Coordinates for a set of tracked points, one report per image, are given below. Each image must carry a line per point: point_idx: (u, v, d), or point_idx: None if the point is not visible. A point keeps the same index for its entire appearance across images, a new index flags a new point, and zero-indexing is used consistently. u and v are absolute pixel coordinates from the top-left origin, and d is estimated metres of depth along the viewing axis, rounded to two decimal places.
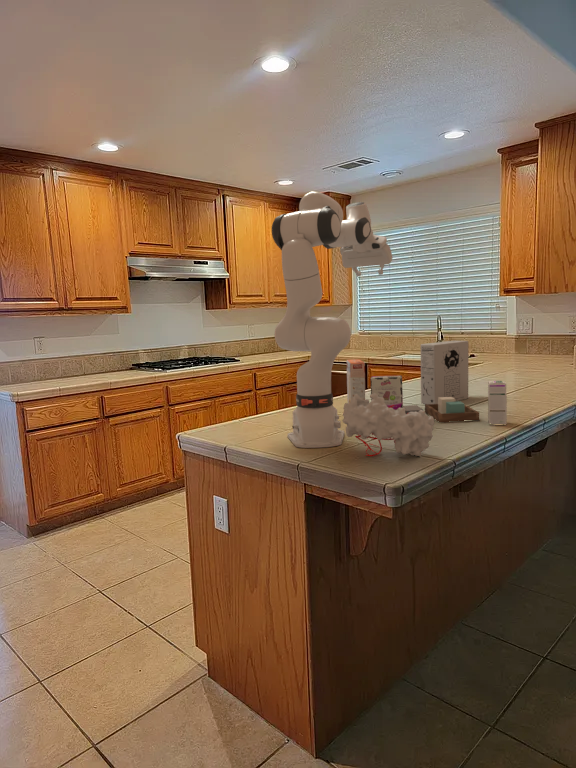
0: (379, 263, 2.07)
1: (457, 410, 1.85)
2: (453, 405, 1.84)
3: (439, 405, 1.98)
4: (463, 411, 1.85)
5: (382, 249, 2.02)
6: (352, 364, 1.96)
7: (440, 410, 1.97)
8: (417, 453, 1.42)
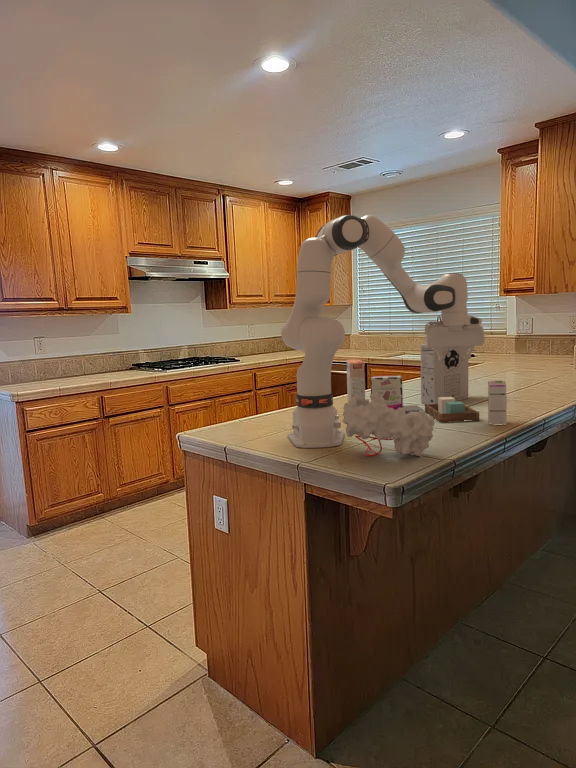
0: (471, 343, 1.82)
1: (457, 410, 1.85)
2: (453, 405, 1.84)
3: (439, 405, 1.98)
4: (463, 411, 1.85)
5: (479, 326, 1.81)
6: (352, 364, 1.96)
7: (440, 410, 1.97)
8: (417, 453, 1.42)
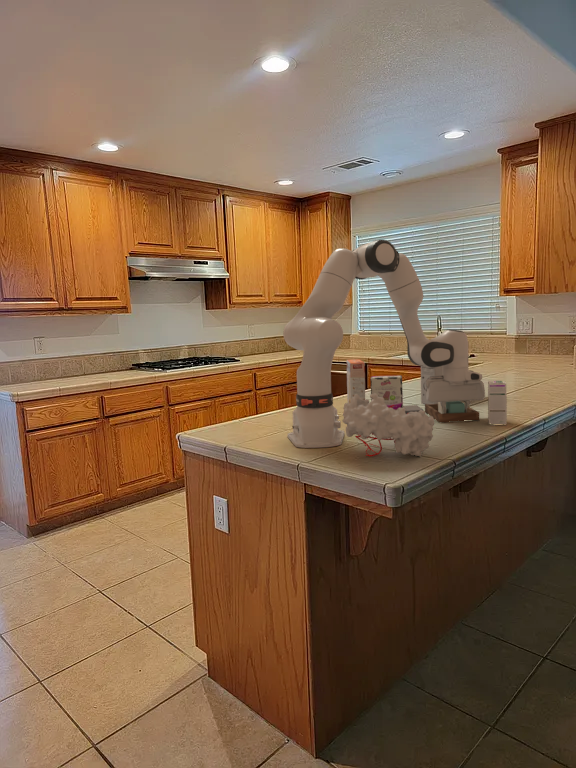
0: (472, 398, 1.85)
1: (457, 410, 1.85)
2: (453, 405, 1.84)
3: (439, 405, 1.98)
4: (463, 411, 1.85)
5: (480, 381, 1.83)
6: (352, 364, 1.96)
7: (440, 410, 1.97)
8: (417, 453, 1.42)
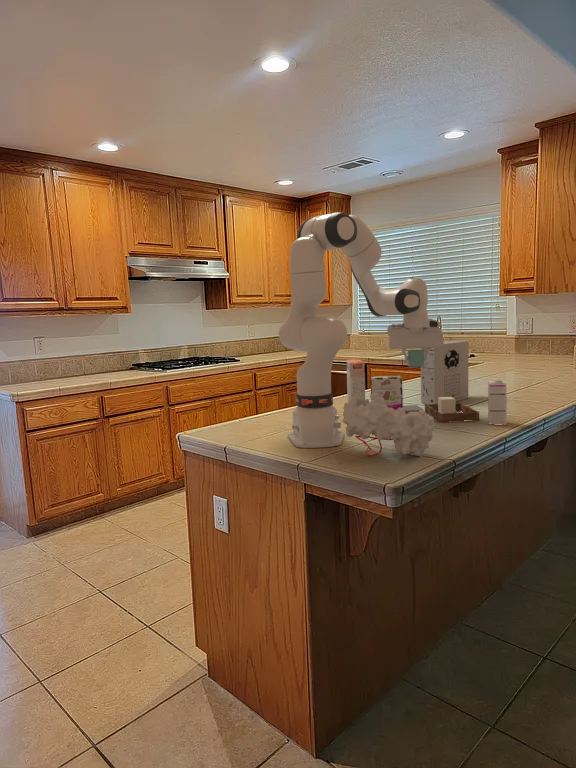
0: (431, 345, 1.93)
1: (417, 356, 1.93)
2: (413, 351, 1.93)
3: (439, 405, 1.98)
4: (422, 357, 1.93)
5: (438, 329, 1.91)
6: (352, 364, 1.96)
7: (440, 410, 1.97)
8: (417, 453, 1.42)
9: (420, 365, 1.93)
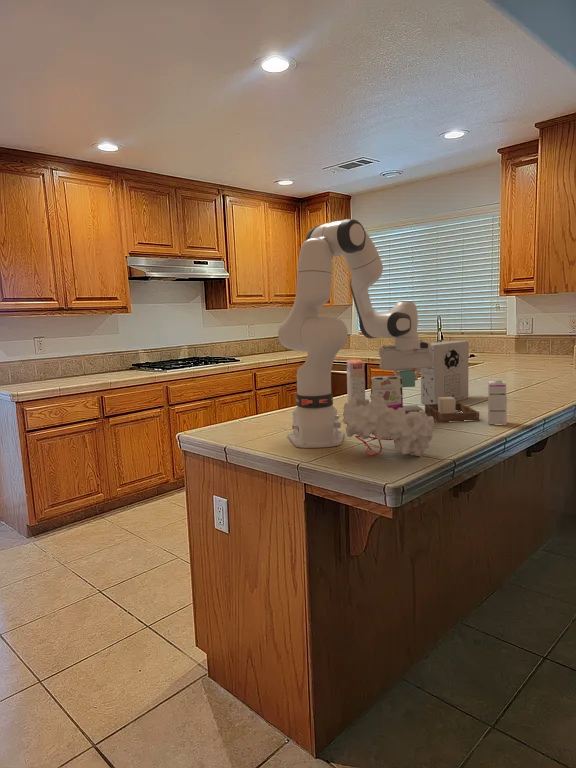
0: (422, 366, 1.97)
1: (408, 377, 1.97)
2: (404, 372, 1.97)
3: (439, 405, 1.98)
4: (414, 378, 1.97)
5: (429, 350, 1.96)
6: (352, 364, 1.96)
7: (440, 410, 1.97)
8: (417, 453, 1.42)
9: (411, 385, 1.98)
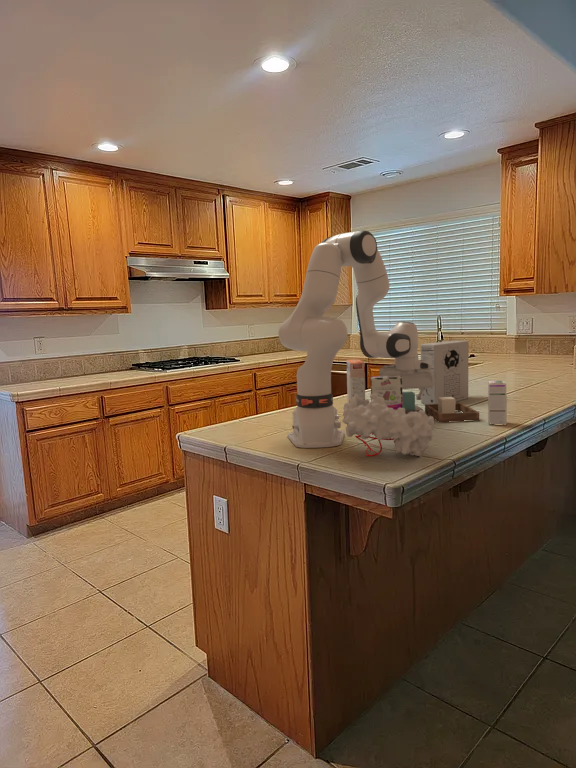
0: (422, 386, 1.98)
1: (408, 399, 1.98)
2: (404, 395, 1.98)
3: (439, 405, 1.98)
4: (414, 400, 1.98)
5: (429, 370, 1.97)
6: (352, 364, 1.96)
7: (440, 410, 1.97)
8: (417, 453, 1.42)
9: (411, 408, 1.99)
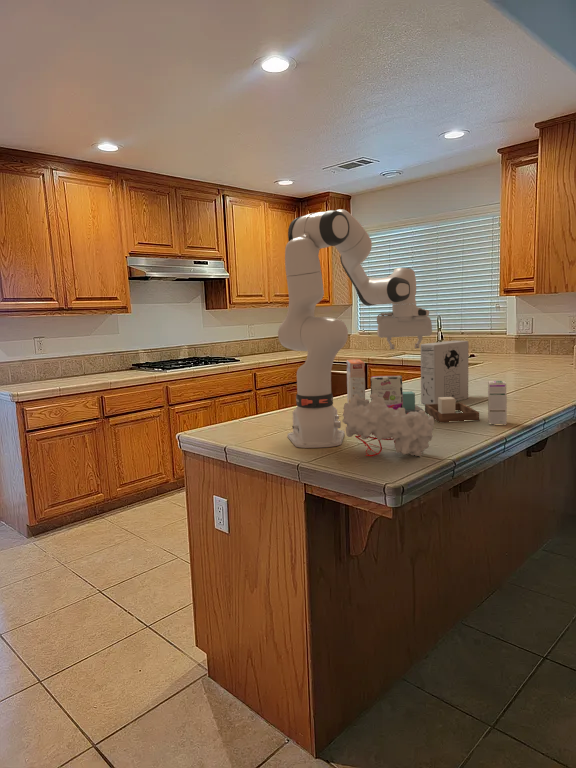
0: (420, 334, 1.96)
1: (408, 399, 1.98)
2: (404, 395, 1.98)
3: (439, 405, 1.98)
4: (414, 400, 1.98)
5: (427, 317, 1.94)
6: (352, 364, 1.96)
7: (440, 410, 1.97)
8: (417, 453, 1.42)
9: (411, 408, 1.99)
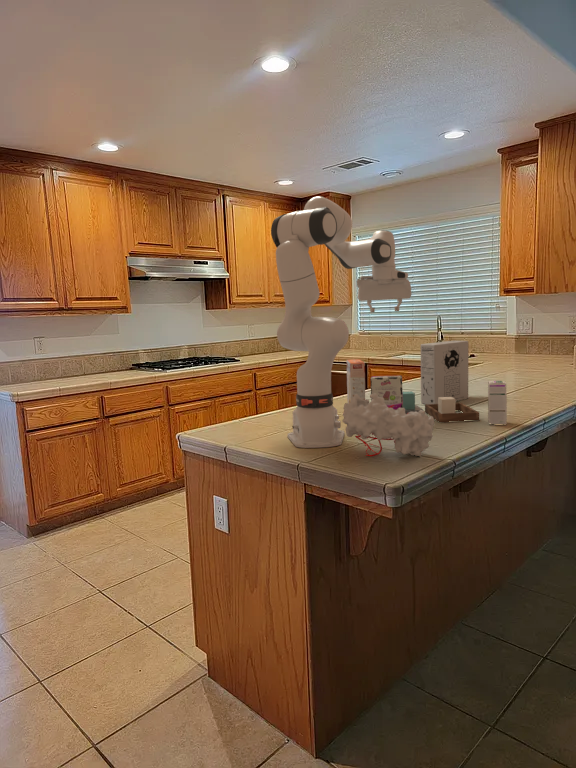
0: (399, 296, 1.98)
1: (408, 399, 1.98)
2: (404, 395, 1.98)
3: (439, 405, 1.98)
4: (414, 400, 1.98)
5: (406, 280, 1.97)
6: (352, 364, 1.96)
7: (440, 410, 1.97)
8: (417, 453, 1.42)
9: (411, 408, 1.99)
